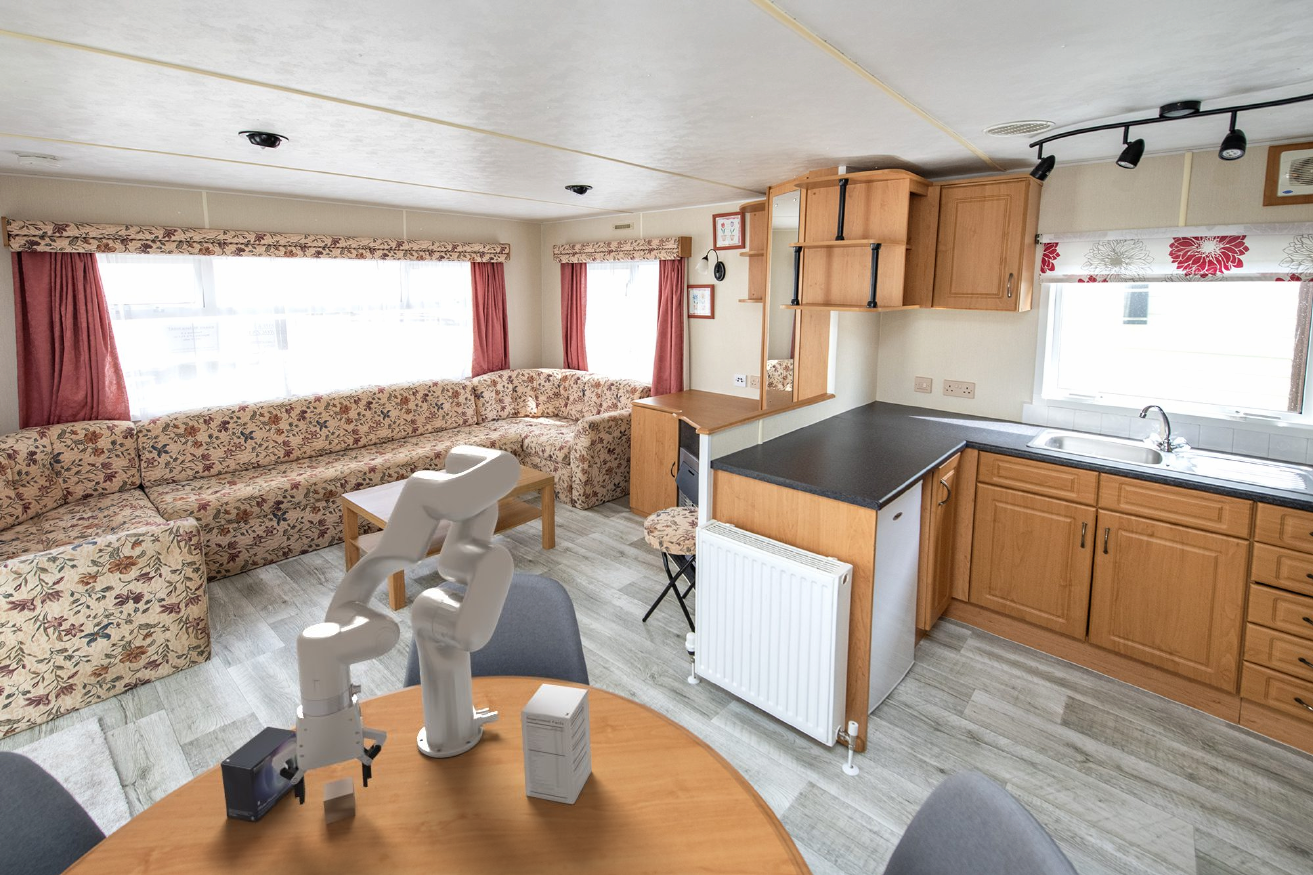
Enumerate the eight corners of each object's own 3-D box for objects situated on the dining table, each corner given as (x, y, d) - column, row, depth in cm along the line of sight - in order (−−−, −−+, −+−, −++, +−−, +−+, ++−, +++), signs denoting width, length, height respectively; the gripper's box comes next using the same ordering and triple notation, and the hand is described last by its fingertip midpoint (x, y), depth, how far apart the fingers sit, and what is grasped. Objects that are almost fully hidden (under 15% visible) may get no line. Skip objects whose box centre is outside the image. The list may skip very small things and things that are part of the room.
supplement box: (593, 770, 121) (590, 688, 118) (574, 806, 113) (571, 718, 109) (545, 761, 124) (542, 681, 121) (524, 795, 115) (519, 710, 112)
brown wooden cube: (355, 798, 115) (352, 775, 114) (355, 815, 111) (353, 792, 110) (326, 806, 113) (323, 783, 112) (326, 824, 109) (323, 801, 108)
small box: (258, 824, 109) (250, 768, 107) (225, 818, 110) (217, 763, 108) (303, 780, 119) (297, 729, 117) (273, 775, 121) (266, 725, 119)
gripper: (382, 676, 115) (388, 763, 118) (269, 699, 107) (278, 791, 110) (384, 697, 108) (390, 789, 111) (264, 723, 101) (274, 821, 104)
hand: (334, 790), depth 111 cm, fingers open, 9 cm apart
